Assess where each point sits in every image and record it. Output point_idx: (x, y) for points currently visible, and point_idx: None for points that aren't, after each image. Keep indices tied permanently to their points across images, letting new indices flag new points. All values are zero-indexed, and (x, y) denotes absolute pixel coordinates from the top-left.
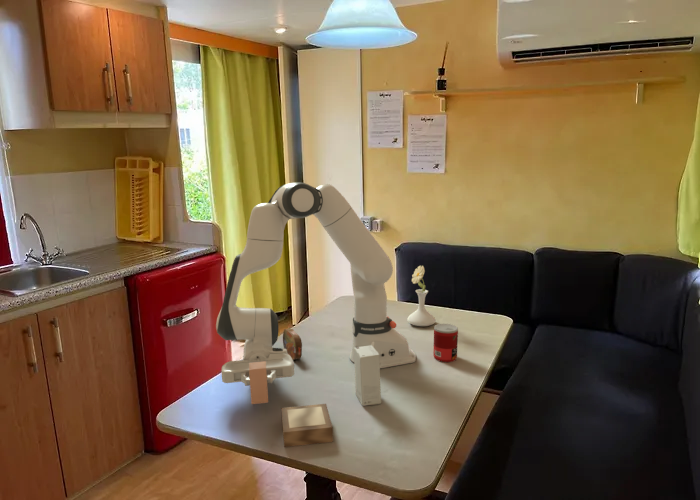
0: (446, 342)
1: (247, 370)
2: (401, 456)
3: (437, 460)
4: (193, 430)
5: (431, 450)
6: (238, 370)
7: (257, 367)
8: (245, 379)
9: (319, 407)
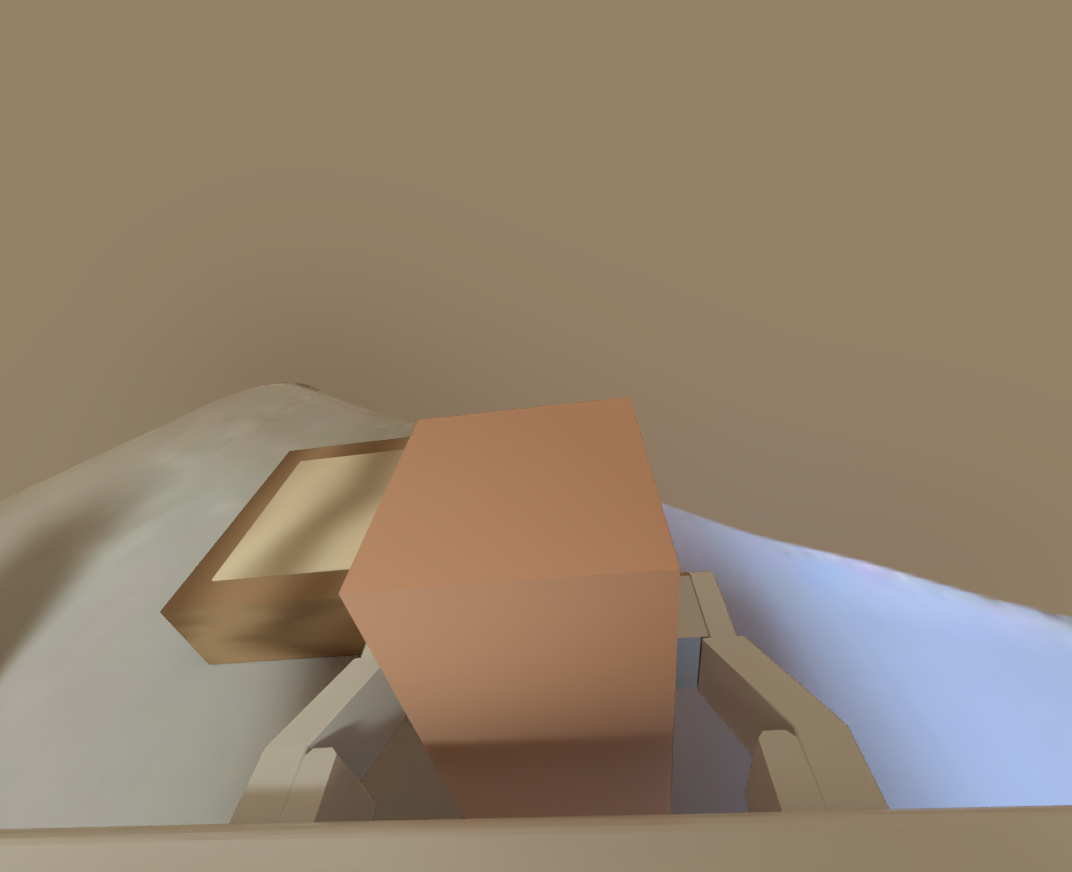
0: None
1: (754, 812)
2: (198, 446)
3: (145, 437)
4: (1012, 616)
5: (112, 462)
6: (973, 817)
7: (520, 435)
8: (704, 580)
9: (227, 571)
